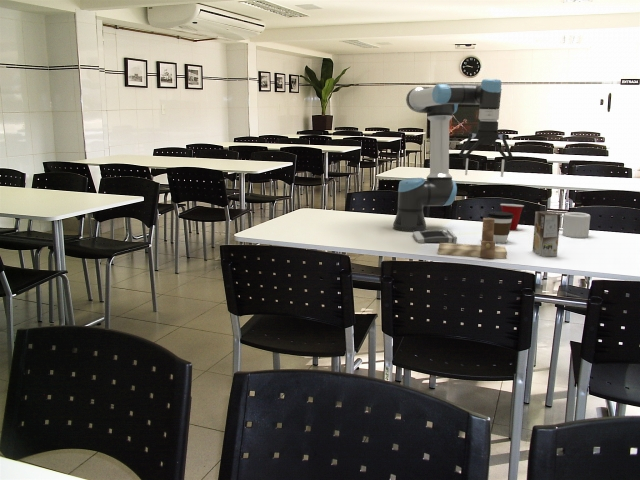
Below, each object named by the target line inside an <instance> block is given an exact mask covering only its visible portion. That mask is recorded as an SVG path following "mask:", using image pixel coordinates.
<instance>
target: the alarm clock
mask: <svg viewBox="0 0 640 480" xmlns="http://www.w3.org/2000/svg"><path fill="white" fill-rule="evenodd" d="M412 233H413V234H412V237H413V239H414V241H415V242H416V243H417V244H425V243H453V244H457V242H458V236H457V235H456V234H455V233H454V232H453V231H452V230H451V229H446V230H444V229H441V230H440V229H429V230H423V231H412Z"/></svg>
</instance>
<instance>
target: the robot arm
mask: <svg viewBox="0 0 640 480" xmlns="http://www.w3.org/2000/svg"><path fill="white" fill-rule="evenodd" d="M502 90H503V89H502V80H500V79H497V78H494V79H493V78H487V79H486V78H485V79H482V81H481V84H452V83H448V84H447V83H439V84H435V85H434V86H433V87H432V86H420V87H415V88H412V89H410V90H409V91H408V93H407V94H406V97H405V102H406V105H407V107H408V108H409V109H410V110H411V111H412V112H416V113H419V114H426V118H427V120H428V121H430V124H429V126H430V129H429V135H430V136H429V143H430V145H429V146H430V147H429V173H428V175H427V176H426V180H425V178H423V177H409V178H404V179H402V180H400V181H399V184H398V189H397V191H398V192H397V194H398V196H397V213H396V216H395V218H394V221H393V223H392V225H393V227H392V228H393V229H394V230H397V231H402V232H416V231H419V232H421V231H427V223H426V220H425V219H426V218H425V215H424V207H444V206H450V205H452V204H453V203H454V201H455V200H456V197H457V192H458V191H457V190H458V186H457V182H456V181H455V180H453V176H452V175H451V174H450V173H449V172H450V171H449V169H450V121H451V120H452V118H453V115H454V114H455V113H456V112H457V111H458V108H459V107H458V106H459V105H476V106H477V105H479V109H478V120H479V121H478V122H477V131H476V133H472V132H469V134H468V138H467V140H466V141H465V144H463V146H462V148H461V149H460V152H459V153H458V156H459V157H461V158H462V165H463V167H465V171H464V175H465V176H468V171H469V170H468V168H469V155H471V153H473V151H475V149H477V147H478V146H480V145H482V146H486V145H487V146H492V145H493V146H494V147H495V148H496V150H497V151H498V152H499V154H500V156H502V158H503V159H501V170H500V177H501V178H503V177H504V172H505V171H504V169H507V167H508V160H511V159H513V157H514V156H513V154H512V151H511V149H510V147H509V143H508V142H507V137H506V136H507V135H506V134H505V133H502V134H499V133H498V131H499V119H500V107H501V106H500V105H501V97H502V96H501V95H502ZM474 138H476V140H477V141H476V142H475V143H474V144H473V146H471V148H470V149H468V150H467V148H468V146H469V144H470V143H471V141H472V140H474ZM498 139H500V140H501V141H502V142H503V146H504V148H505V150H506V153H507V155H506V153H505V152H504V151H503V150H502V148H501V147H500V146H499V144H498V143H497V140H498ZM466 150H467V151H466Z"/></svg>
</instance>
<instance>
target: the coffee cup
mask: <svg viewBox="0 0 640 480" xmlns="http://www.w3.org/2000/svg"><path fill="white" fill-rule="evenodd" d="M486 218H494V220H495V222H494V236H493V241H495V243H499V244H500V243H503V244H504V243H506V242H507V241H508V238H509V234H510V231H511V230H510V227H511V223H512V222H511V221H512V219H513V218H514V216H513V214H512V213H509V212H502V211H489V212H488V213H487V214H486Z"/></svg>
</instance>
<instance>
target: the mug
mask: <svg viewBox="0 0 640 480" xmlns="http://www.w3.org/2000/svg"><path fill="white" fill-rule="evenodd" d="M560 218H563V226H562V228H559V232H560V231H561V232H562V235H563V236H564V237H567V238H573V239H574V238H575V239H585V238H588V237H589V234H590V233H589V232H590V224H591V223H590V222H591V215H590V214H589V213H586V212H576V211H575V212H574V211H573V212H572V211H570V212H569V211H568V212H565V213H564V215H561V216H560Z"/></svg>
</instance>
